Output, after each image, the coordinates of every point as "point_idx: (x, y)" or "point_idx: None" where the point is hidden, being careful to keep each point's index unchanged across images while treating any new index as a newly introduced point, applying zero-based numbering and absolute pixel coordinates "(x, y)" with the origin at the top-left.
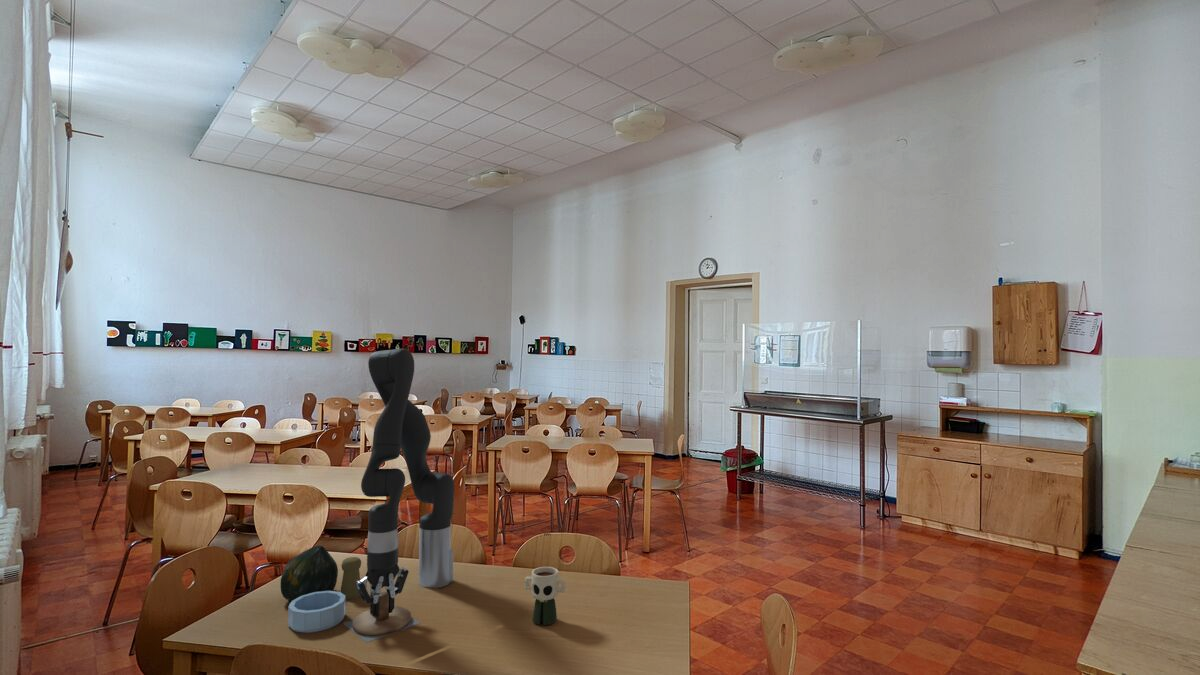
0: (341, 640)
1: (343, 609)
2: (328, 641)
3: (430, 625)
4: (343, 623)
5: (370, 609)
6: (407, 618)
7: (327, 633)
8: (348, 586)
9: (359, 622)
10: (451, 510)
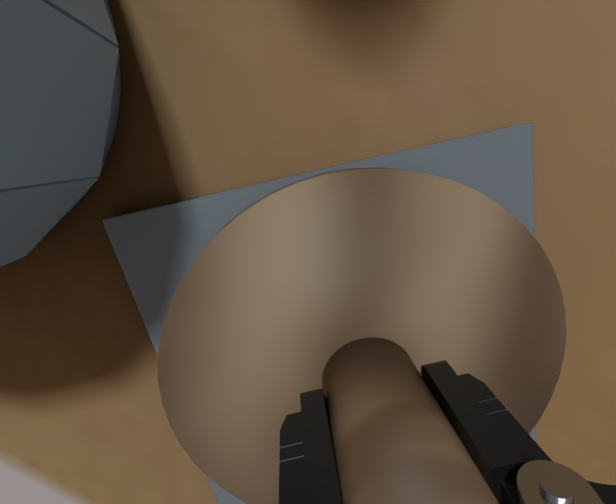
0: (102, 415)
1: (42, 188)
2: (23, 394)
3: (565, 460)
4: (109, 228)
5: (281, 463)
6: None
7: (6, 285)
8: None
9: (206, 370)
10: None
